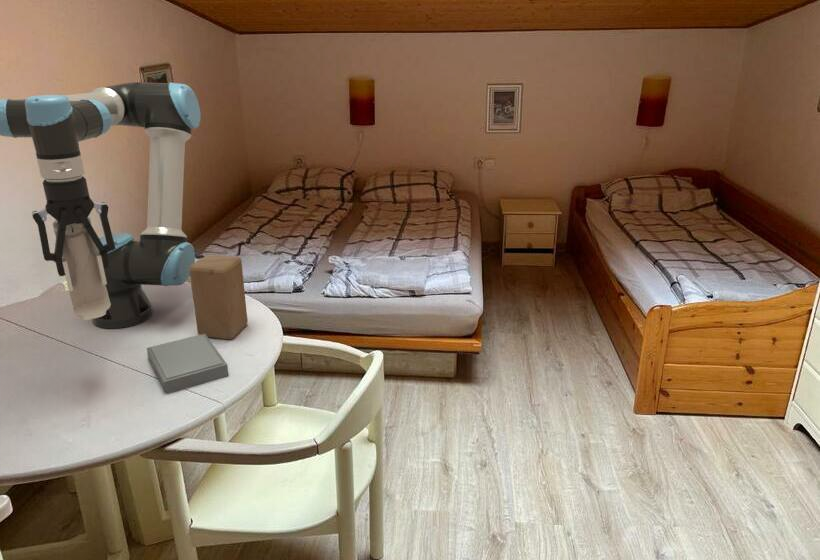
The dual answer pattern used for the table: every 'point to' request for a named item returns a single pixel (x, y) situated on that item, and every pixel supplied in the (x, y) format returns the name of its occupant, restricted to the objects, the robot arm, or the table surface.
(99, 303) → the candle
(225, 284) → the wooden block
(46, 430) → the table surface
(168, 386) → the grey flat block
